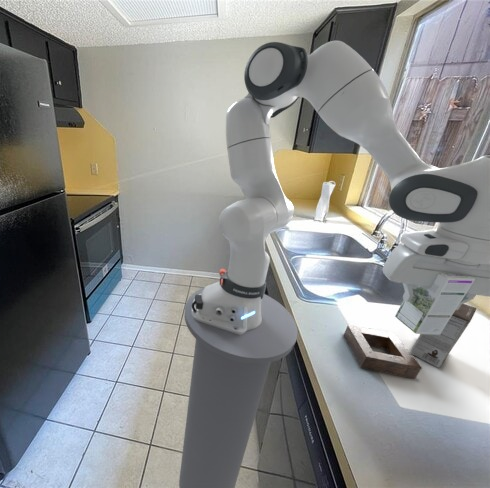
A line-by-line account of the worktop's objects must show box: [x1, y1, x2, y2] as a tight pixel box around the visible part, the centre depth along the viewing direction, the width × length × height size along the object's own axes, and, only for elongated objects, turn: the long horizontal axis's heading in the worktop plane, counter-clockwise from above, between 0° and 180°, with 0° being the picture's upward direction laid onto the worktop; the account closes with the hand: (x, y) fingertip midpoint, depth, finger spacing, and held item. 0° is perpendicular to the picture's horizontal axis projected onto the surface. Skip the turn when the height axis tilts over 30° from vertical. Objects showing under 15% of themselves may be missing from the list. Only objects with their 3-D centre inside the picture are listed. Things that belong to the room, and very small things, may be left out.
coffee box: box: [409, 303, 477, 369], centre depth 69 cm, size 9×6×16 cm
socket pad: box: [343, 324, 423, 380], centre depth 70 cm, size 12×12×4 cm
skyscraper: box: [313, 180, 336, 223], centre depth 177 cm, size 8×8×28 cm
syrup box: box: [394, 273, 475, 335], centre depth 55 cm, size 6×6×14 cm
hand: (428, 304), depth 55 cm, fingers closed on syrup box, 6 cm apart
